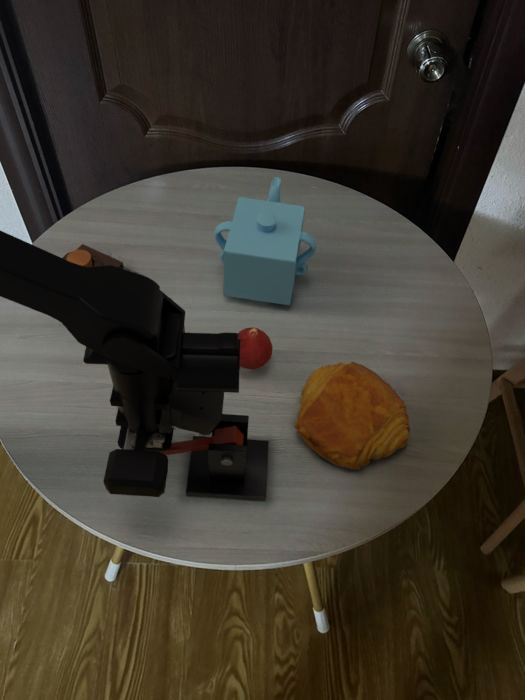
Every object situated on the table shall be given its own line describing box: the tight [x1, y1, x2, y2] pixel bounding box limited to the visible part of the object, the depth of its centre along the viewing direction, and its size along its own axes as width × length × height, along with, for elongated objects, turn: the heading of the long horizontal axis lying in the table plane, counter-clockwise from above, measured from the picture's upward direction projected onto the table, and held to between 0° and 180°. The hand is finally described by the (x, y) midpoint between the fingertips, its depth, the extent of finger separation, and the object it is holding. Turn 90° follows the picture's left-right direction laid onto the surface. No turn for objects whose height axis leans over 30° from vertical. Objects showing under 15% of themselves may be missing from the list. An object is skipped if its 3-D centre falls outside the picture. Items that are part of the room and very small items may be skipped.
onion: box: [237, 327, 273, 371], centre depth 87 cm, size 6×6×8 cm
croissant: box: [293, 361, 411, 471], centre depth 82 cm, size 14×16×8 cm
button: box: [67, 249, 93, 267], centre depth 94 cm, size 4×4×2 cm
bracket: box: [185, 413, 270, 502], centre depth 76 cm, size 10×8×10 cm
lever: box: [160, 426, 244, 456], centre depth 75 cm, size 12×6×2 cm, turn 88°
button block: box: [62, 243, 125, 269], centre depth 96 cm, size 10×8×4 cm
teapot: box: [213, 176, 317, 306], centre depth 97 cm, size 18×16×13 cm
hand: (154, 448), depth 76 cm, fingers closed, pressing on lever
